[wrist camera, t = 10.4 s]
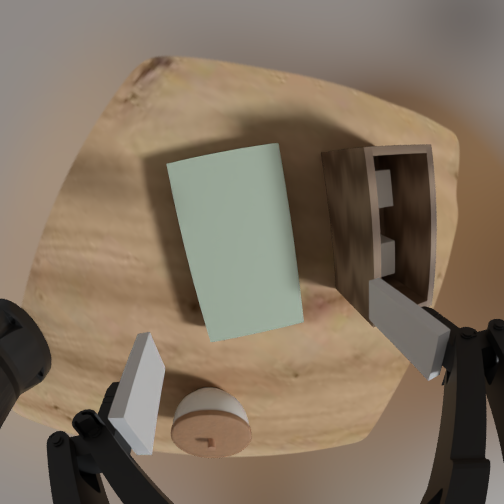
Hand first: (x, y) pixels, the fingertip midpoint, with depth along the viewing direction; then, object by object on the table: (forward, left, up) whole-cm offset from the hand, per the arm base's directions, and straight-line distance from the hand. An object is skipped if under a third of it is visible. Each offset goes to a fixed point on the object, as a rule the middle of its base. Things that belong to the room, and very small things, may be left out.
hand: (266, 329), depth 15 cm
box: (+15, +1, -17) cm, 23 cm away
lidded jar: (-9, -22, -18) cm, 30 cm away
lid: (0, +1, -17) cm, 17 cm away
